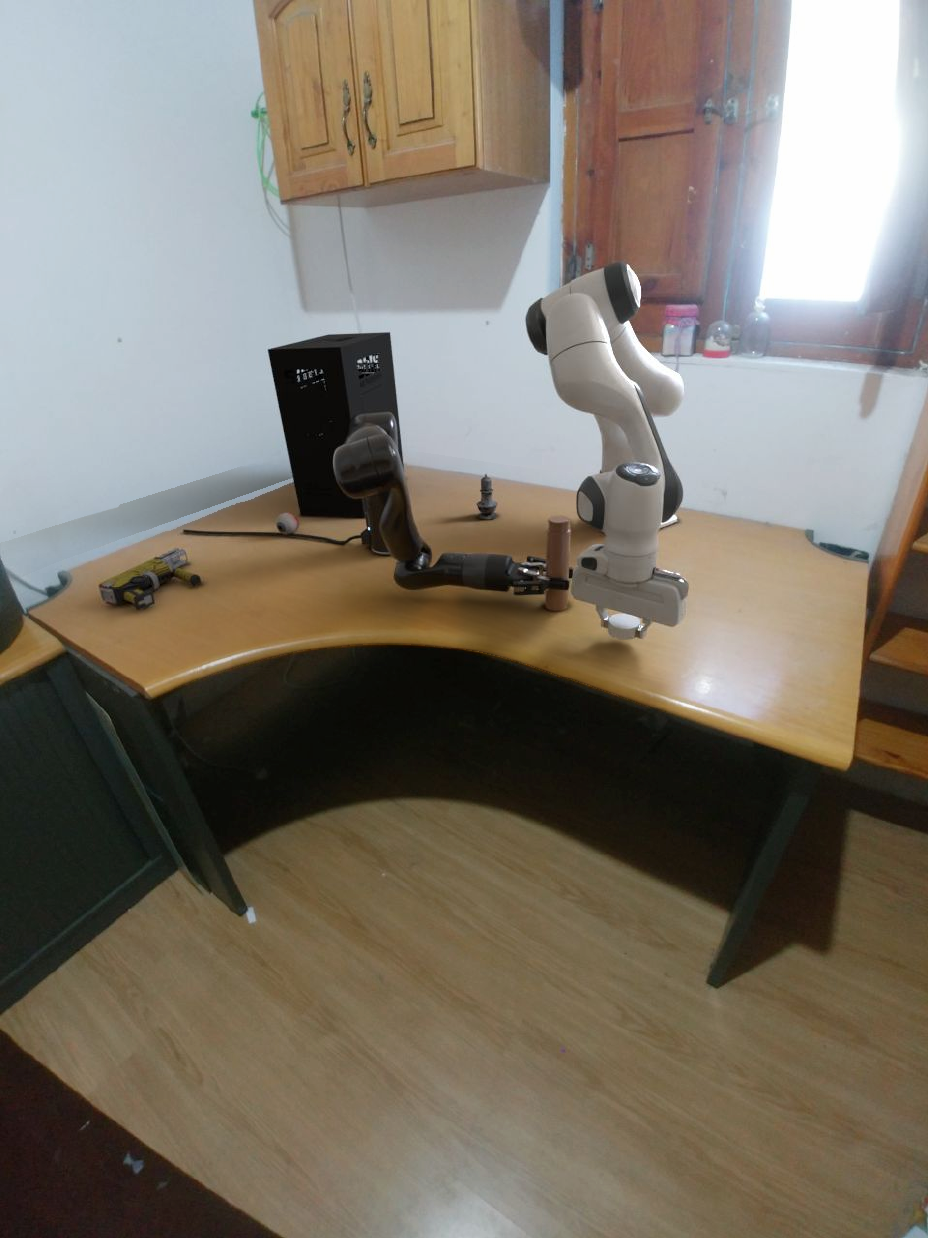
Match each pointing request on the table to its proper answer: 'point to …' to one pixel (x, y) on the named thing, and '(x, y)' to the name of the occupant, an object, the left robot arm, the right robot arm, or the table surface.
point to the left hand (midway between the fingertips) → (570, 578)
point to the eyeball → (287, 523)
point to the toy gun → (146, 580)
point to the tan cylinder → (557, 560)
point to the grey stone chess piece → (486, 500)
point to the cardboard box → (330, 409)
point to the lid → (623, 626)
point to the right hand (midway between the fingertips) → (623, 631)
